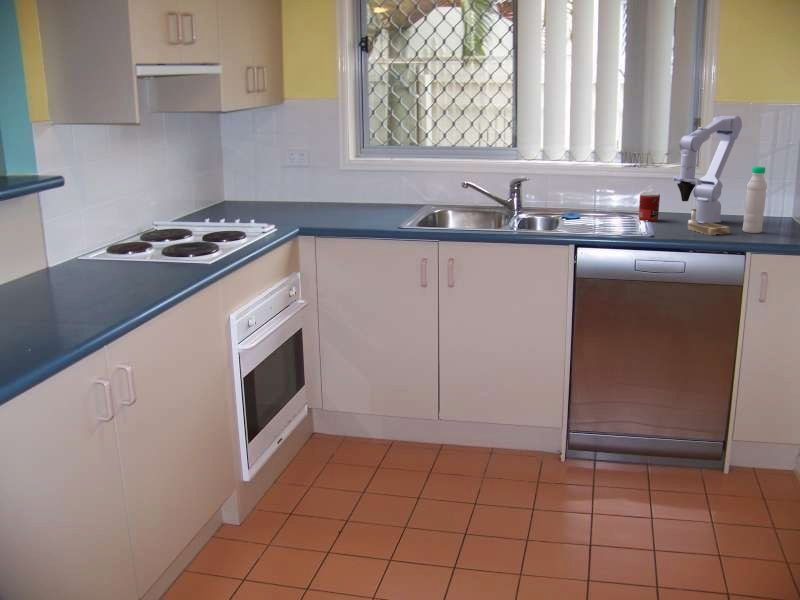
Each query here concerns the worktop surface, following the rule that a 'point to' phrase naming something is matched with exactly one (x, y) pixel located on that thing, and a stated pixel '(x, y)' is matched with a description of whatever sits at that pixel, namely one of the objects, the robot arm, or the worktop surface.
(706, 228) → the cradle
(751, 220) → the water bottle
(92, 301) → the worktop surface
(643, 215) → the canned food
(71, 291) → the worktop surface
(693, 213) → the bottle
